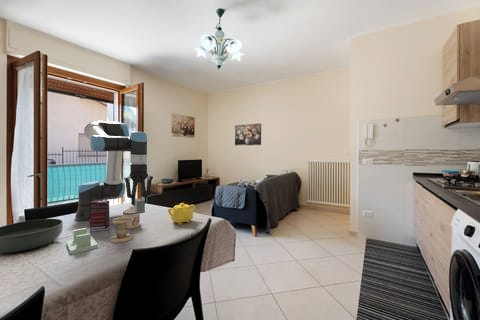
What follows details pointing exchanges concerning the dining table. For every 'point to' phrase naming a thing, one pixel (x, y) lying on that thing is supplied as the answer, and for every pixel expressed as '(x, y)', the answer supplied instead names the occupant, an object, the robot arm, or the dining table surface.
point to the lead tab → (140, 206)
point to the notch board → (75, 250)
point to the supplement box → (99, 215)
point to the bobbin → (121, 230)
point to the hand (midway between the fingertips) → (139, 210)
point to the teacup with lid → (132, 218)
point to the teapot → (181, 213)
